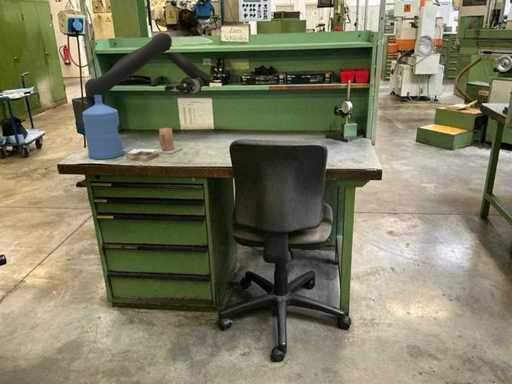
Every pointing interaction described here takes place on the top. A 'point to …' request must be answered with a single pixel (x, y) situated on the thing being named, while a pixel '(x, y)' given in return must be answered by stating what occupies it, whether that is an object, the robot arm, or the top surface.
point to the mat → (168, 151)
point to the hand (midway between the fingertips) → (172, 89)
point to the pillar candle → (166, 139)
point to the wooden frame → (134, 157)
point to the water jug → (102, 131)
